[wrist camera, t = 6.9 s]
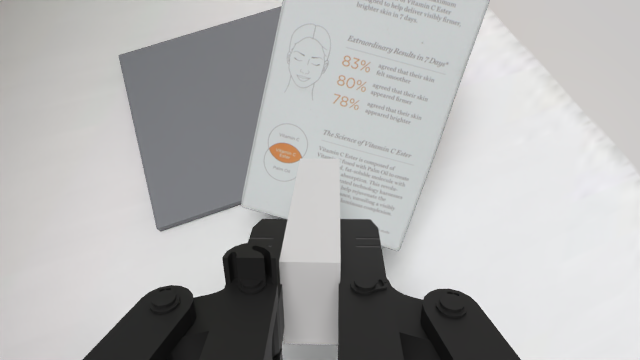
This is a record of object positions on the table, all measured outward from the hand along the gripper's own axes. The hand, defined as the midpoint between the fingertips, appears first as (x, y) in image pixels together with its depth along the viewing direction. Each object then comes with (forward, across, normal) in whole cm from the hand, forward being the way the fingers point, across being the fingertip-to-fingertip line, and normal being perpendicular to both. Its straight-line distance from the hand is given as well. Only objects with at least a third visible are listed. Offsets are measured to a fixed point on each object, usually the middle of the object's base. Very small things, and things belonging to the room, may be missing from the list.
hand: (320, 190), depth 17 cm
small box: (+5, 0, -4) cm, 7 cm away
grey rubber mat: (+13, -4, 0) cm, 14 cm away
